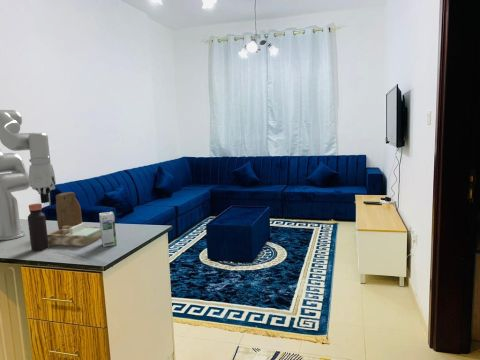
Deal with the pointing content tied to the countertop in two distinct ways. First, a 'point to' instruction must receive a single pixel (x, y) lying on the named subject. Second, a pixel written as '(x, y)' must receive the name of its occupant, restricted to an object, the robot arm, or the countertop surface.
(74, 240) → the puzzle board
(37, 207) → the vinegar
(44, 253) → the countertop surface
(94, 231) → the lid
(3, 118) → the robot arm
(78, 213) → the block
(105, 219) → the syrup box
